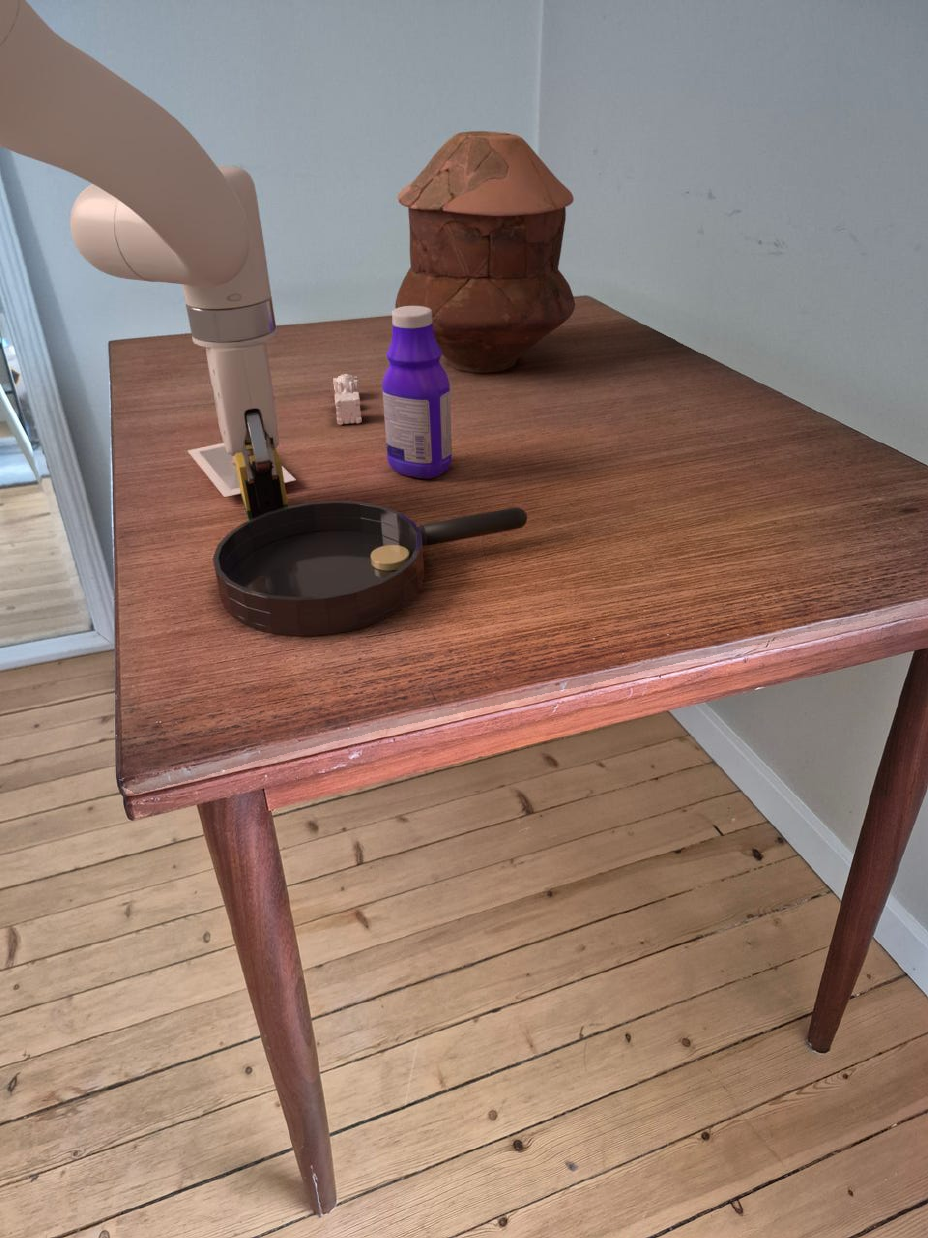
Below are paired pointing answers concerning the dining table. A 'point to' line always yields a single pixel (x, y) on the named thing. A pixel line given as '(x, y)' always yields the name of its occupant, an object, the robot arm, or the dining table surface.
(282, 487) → the sponge
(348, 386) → the game pieces
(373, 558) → the disc
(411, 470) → the bottle
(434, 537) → the pan handle
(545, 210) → the pottery vessel
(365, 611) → the pan
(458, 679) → the dining table surface
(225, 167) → the robot arm
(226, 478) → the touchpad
